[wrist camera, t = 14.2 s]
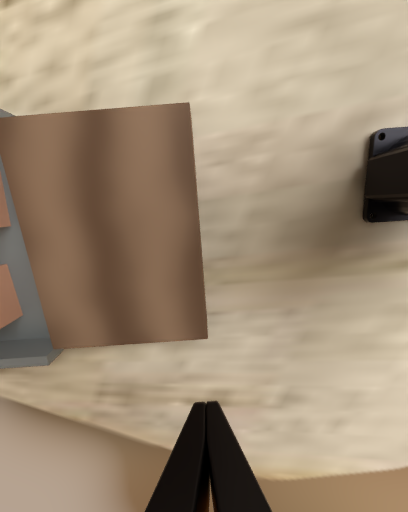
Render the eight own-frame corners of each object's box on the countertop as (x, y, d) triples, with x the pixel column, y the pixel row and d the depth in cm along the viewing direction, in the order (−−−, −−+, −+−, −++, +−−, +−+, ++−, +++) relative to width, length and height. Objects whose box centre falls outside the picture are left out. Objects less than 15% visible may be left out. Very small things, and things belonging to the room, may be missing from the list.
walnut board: (191, 118, 15) (189, 102, 13) (207, 321, 19) (207, 338, 16) (23, 131, 15) (-10, 118, 13) (72, 330, 19) (53, 349, 17)
